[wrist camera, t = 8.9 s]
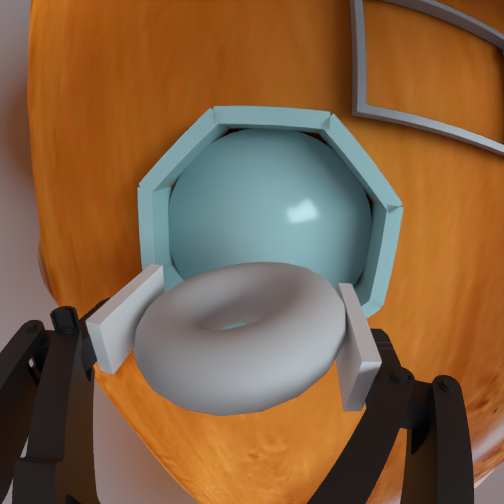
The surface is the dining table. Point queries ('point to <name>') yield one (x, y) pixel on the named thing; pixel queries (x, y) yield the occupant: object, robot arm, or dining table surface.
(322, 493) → the robot arm
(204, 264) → the bowl
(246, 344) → the donut
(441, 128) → the grey rectangular frame
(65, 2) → the dining table surface
